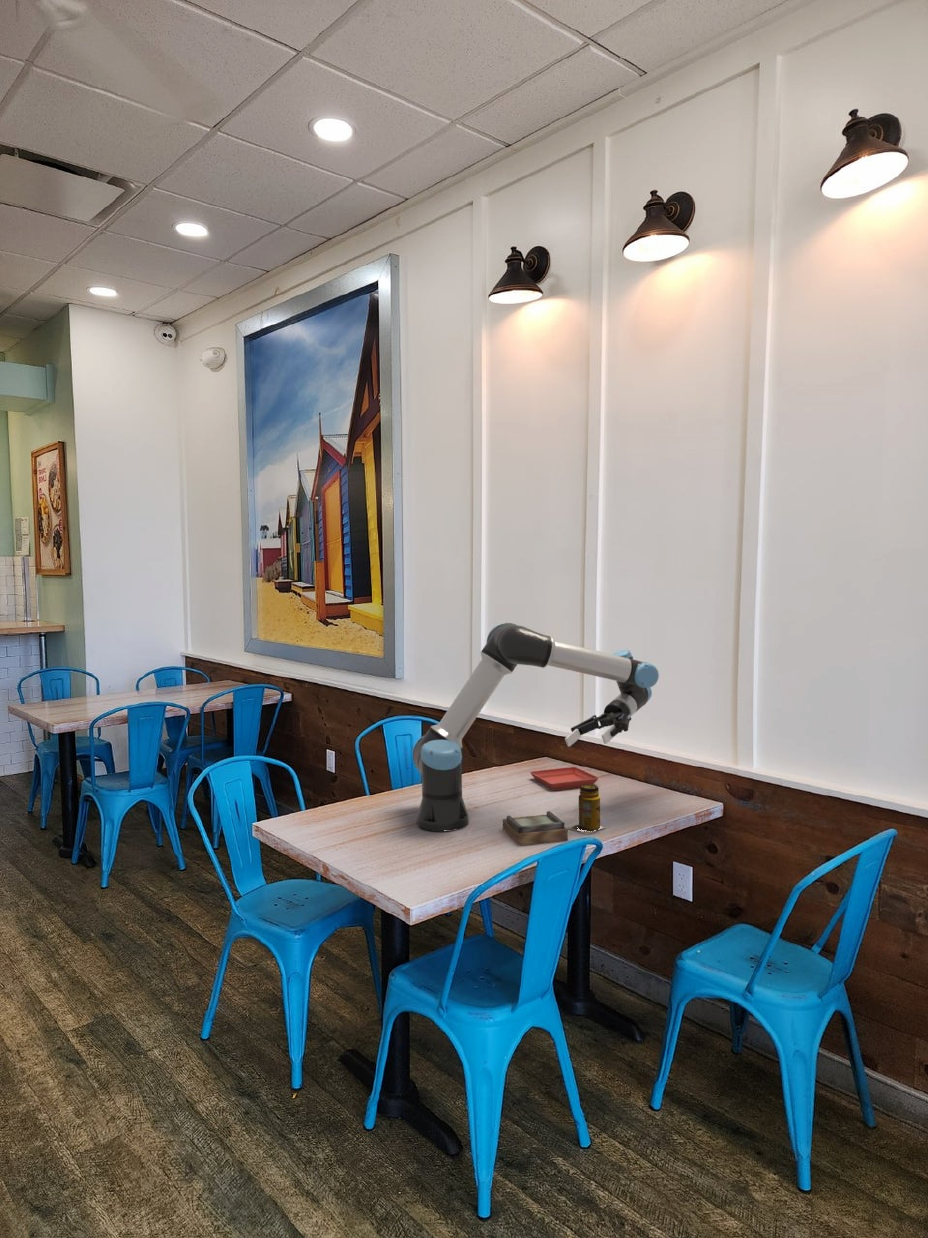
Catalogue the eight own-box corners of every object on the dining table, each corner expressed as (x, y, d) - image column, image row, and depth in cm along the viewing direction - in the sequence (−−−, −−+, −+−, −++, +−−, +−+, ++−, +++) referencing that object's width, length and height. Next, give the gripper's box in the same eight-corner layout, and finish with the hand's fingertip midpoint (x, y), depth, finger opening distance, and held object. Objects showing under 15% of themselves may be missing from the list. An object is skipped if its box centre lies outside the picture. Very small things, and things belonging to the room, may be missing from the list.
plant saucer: (529, 780, 281) (528, 770, 281) (575, 775, 287) (575, 765, 287) (551, 793, 264) (551, 783, 264) (599, 787, 270) (599, 778, 270)
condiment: (606, 827, 228) (606, 786, 227) (588, 835, 222) (587, 792, 221) (586, 822, 233) (585, 781, 232) (567, 829, 227) (567, 787, 226)
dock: (518, 845, 214) (518, 829, 214) (502, 829, 228) (502, 813, 227) (567, 840, 218) (567, 823, 218) (549, 824, 231) (548, 809, 231)
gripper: (658, 717, 244) (624, 750, 229) (592, 724, 262) (557, 754, 247) (649, 695, 243) (615, 726, 228) (584, 703, 261) (548, 732, 246)
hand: (585, 741), depth 238 cm, fingers open, 13 cm apart
